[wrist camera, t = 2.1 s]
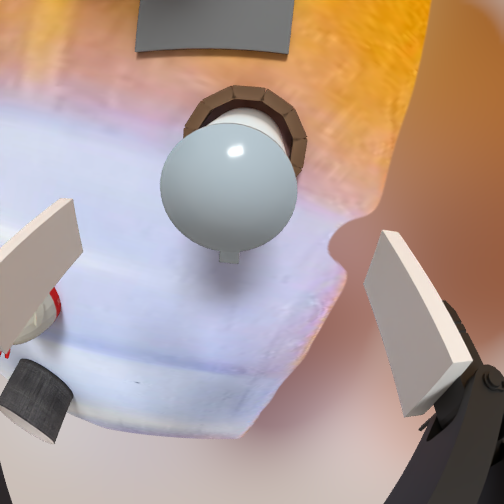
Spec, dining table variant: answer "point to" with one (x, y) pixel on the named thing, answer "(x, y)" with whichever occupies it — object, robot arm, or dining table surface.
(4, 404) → the planter
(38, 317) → the white chicken figure
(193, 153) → the white cylindrical canister
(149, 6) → the mat
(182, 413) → the dining table surface
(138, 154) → the dining table surface
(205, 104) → the brown segmented ring
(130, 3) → the dining table surface
